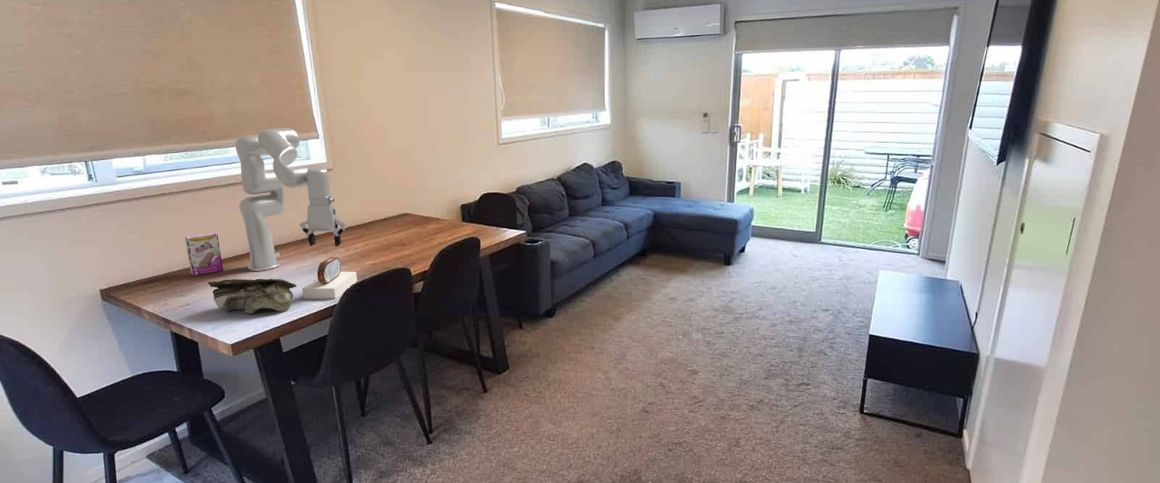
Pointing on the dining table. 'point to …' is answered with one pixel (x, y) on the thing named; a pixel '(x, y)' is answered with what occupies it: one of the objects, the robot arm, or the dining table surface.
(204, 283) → the dining table surface
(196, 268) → the candy bar box
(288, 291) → the hollow geode rock
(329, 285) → the plinth
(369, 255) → the dining table surface
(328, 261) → the tin
